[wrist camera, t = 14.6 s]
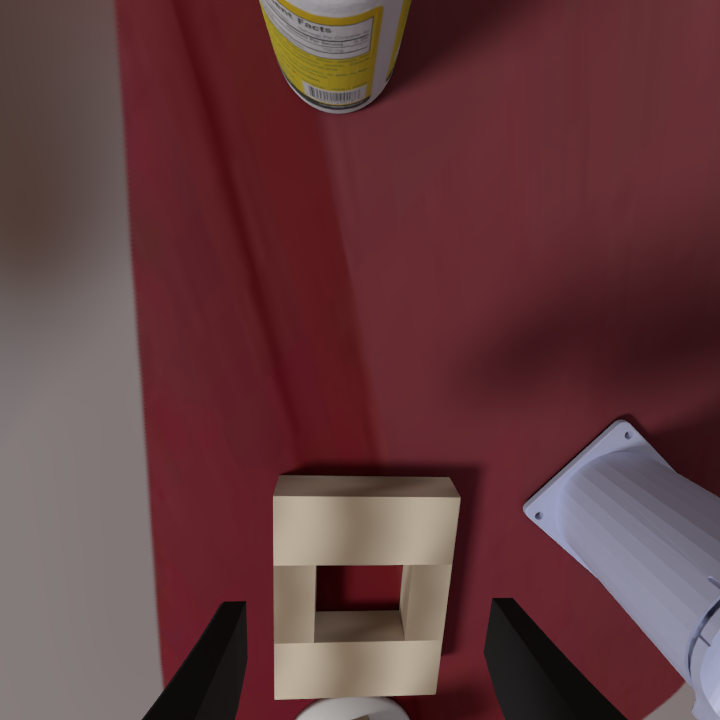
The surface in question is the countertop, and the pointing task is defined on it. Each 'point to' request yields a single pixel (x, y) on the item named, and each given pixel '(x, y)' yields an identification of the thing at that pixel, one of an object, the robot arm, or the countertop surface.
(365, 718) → the plug peg
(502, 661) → the robot arm
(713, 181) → the countertop surface
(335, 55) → the supplement bottle
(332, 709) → the coaster
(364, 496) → the holder block
